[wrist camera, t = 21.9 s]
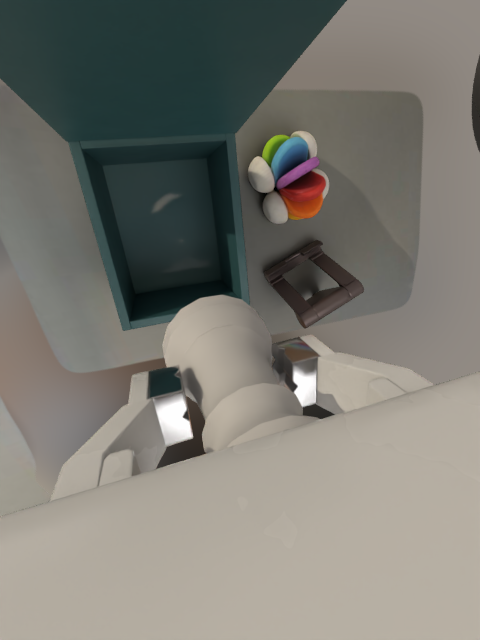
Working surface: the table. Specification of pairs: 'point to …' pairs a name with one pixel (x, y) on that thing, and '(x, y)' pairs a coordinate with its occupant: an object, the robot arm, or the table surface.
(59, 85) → the lid
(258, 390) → the rook chess piece
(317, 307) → the tablet stand
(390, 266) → the table surface
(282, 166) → the multicoloured rounded lobed piece
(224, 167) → the teal hinged box
